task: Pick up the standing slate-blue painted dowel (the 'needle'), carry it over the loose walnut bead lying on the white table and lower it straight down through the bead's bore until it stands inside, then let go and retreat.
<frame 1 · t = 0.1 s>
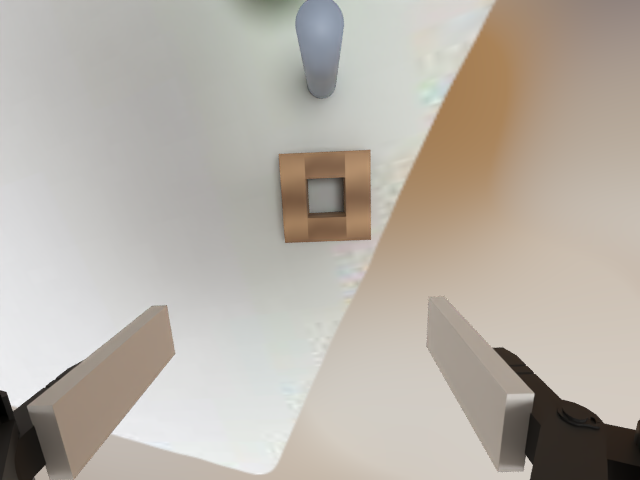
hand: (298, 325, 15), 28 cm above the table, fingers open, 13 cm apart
bead: (325, 194, 41), on the table
needle dowel: (321, 82, 38), on the table
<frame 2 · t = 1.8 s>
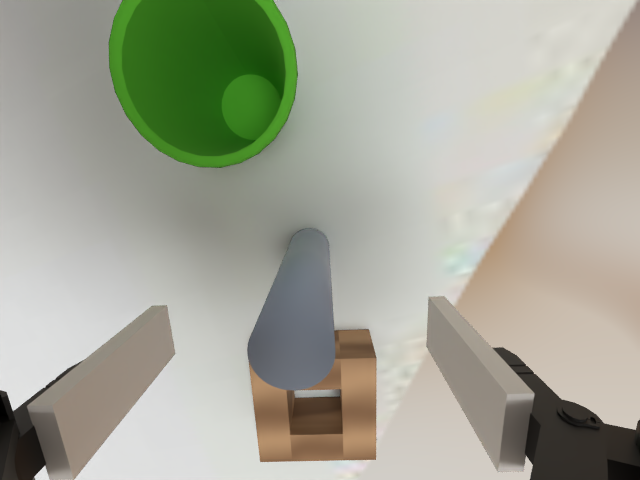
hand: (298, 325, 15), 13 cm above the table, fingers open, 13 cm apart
bead: (316, 377, 31), on the table
needle dowel: (309, 247, 28), on the table
cup: (254, 109, 25), on the table
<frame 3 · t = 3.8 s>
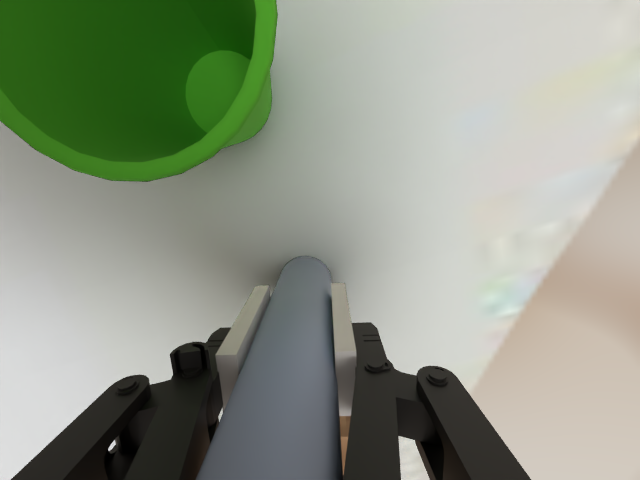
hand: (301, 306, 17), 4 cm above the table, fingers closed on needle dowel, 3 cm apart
bead: (314, 444, 24), on the table
needle dowel: (305, 280, 21), on the table, touching gripper
cup: (231, 99, 19), on the table
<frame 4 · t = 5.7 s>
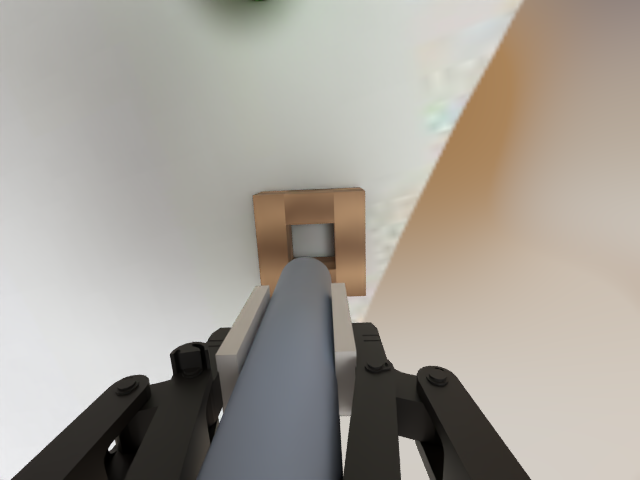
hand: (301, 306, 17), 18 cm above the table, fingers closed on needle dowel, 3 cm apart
bead: (313, 237, 35), on the table
needle dowel: (305, 281, 21), point 14 cm above the table, touching gripper
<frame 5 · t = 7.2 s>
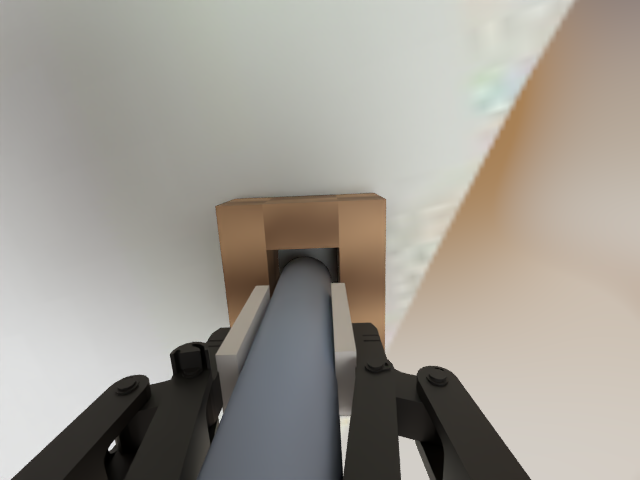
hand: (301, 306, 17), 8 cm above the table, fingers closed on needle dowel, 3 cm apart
bead: (308, 262, 25), on the table
needle dowel: (305, 281, 21), point 4 cm above the table, touching gripper
when the fingers open (6 cm above the table, at t = 8.1 s): needle dowel drops 1 cm, resting in bead.
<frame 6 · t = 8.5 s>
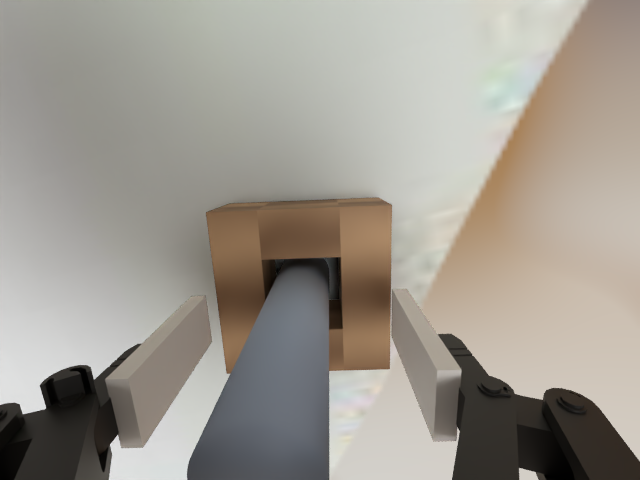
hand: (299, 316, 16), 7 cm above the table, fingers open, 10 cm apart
bead: (307, 271, 23), on the table
needle dowel: (305, 271, 23), resting in bead
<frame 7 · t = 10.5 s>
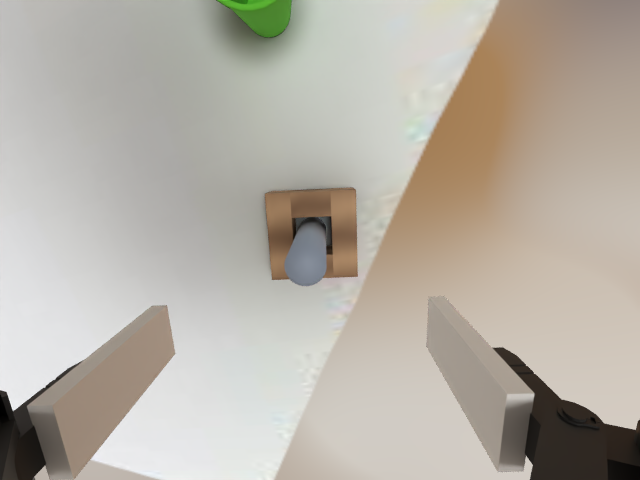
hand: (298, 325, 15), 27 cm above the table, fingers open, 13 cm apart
bead: (313, 229, 41), on the table
needle dowel: (312, 229, 41), resting in bead
cup: (268, 14, 36), on the table
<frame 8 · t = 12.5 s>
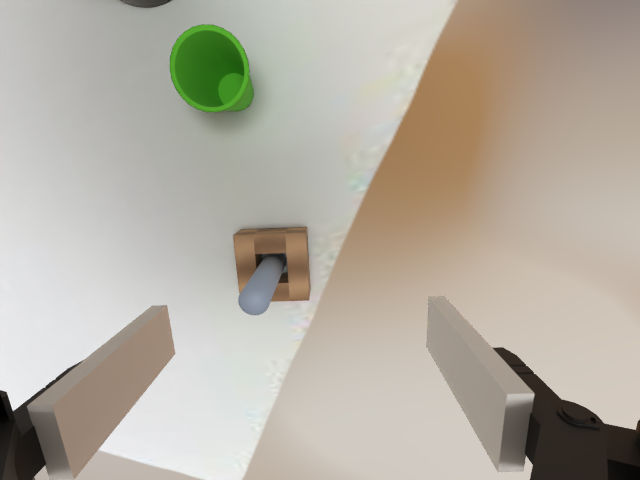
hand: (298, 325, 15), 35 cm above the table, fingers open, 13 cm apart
bead: (276, 259, 51), on the table
needle dowel: (275, 260, 51), resting in bead
cup: (236, 92, 45), on the table
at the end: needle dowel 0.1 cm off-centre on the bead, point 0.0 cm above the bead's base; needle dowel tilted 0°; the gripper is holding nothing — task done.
